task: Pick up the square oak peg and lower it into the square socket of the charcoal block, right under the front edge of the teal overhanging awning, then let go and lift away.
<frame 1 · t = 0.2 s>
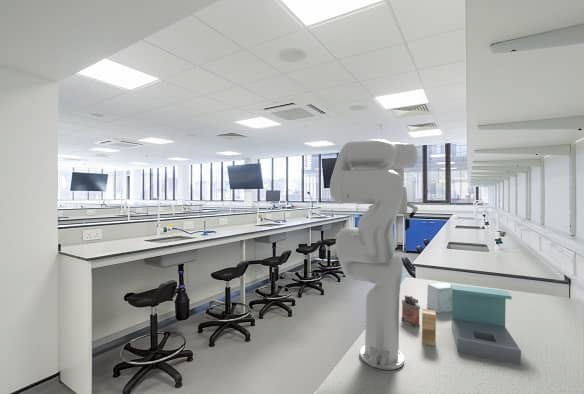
hand: (392, 229, 107), 36 cm above the lab bench, tool pointing down, fingers open, 9 cm apart
skincare box: (442, 309, 124), on the lab bench
peg: (428, 341, 96), on the lab bench
lighter: (410, 323, 110), on the lab bench
socket block: (481, 344, 94), on the lab bench
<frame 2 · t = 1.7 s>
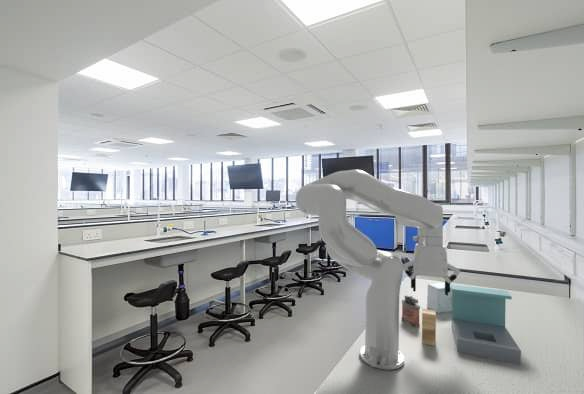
hand: (430, 292, 96), 16 cm above the lab bench, tool pointing down, fingers open, 9 cm apart
nothing on the lab bench moved.
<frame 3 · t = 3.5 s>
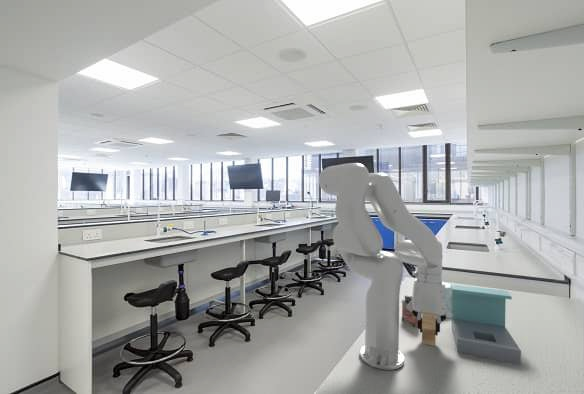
hand: (428, 331, 96), 3 cm above the lab bench, tool pointing down, fingers closed on peg, 4 cm apart
peg: (428, 341, 96), on the lab bench, touching gripper
everything else where it was.
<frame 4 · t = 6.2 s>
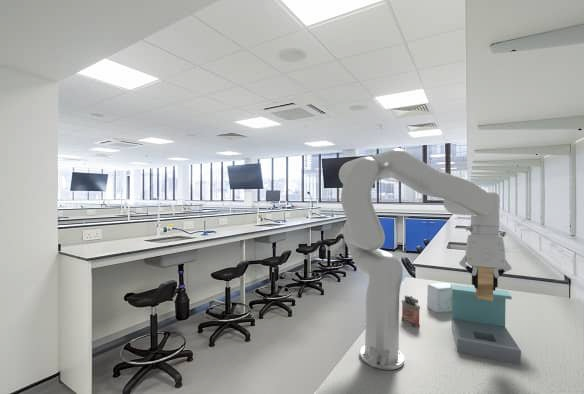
hand: (484, 287, 91), 19 cm above the lab bench, tool pointing down, fingers closed on peg, 4 cm apart
peg: (484, 297, 92), point 16 cm above the lab bench, touching gripper
everything else where it was.
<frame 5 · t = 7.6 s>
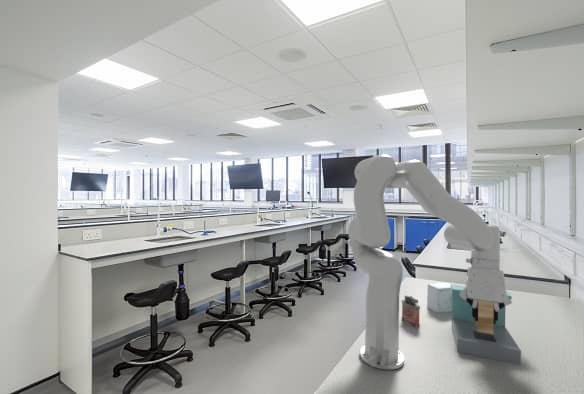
hand: (484, 320, 91), 9 cm above the lab bench, tool pointing down, fingers closed on peg, 4 cm apart
peg: (484, 330, 91), point 6 cm above the lab bench, touching gripper
everything else where it was.
when the fingers open (5 cm above the lab bench, at t = 8.8 s): peg drops 1 cm, resting in socket block.
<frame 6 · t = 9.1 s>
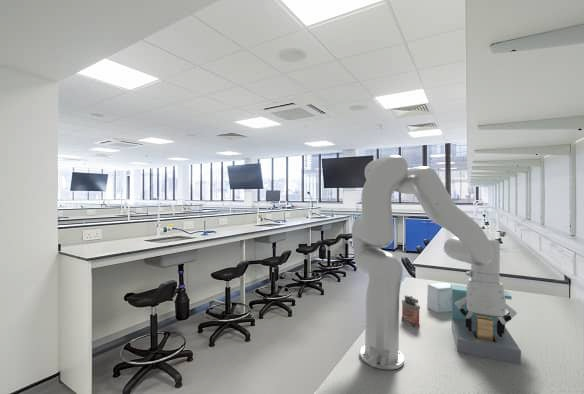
hand: (484, 332, 91), 5 cm above the lab bench, tool pointing down, fingers open, 7 cm apart
peg: (483, 349, 91), resting in socket block
everything else where it was.
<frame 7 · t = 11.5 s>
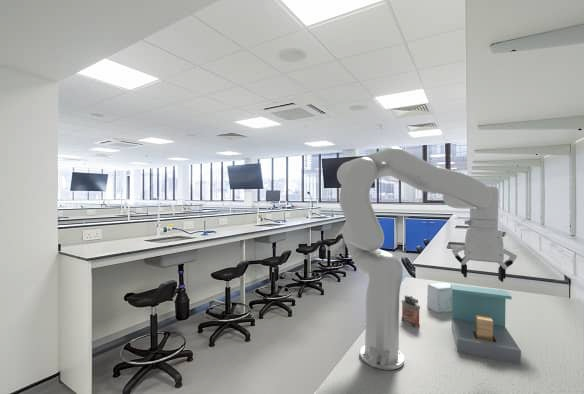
hand: (482, 278, 91), 22 cm above the lab bench, tool pointing down, fingers open, 9 cm apart
nothing on the lab bench moved.
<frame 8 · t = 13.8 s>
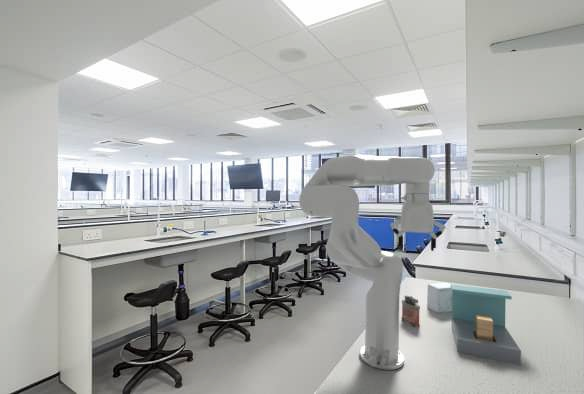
hand: (416, 249, 98), 30 cm above the lab bench, tool pointing down, fingers open, 9 cm apart
nothing on the lab bench moved.
at the end: peg 0.1 cm from the target spot on the socket block, point 0.0 cm above the socket block's base; peg tilted 0°; the gripper is holding nothing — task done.
